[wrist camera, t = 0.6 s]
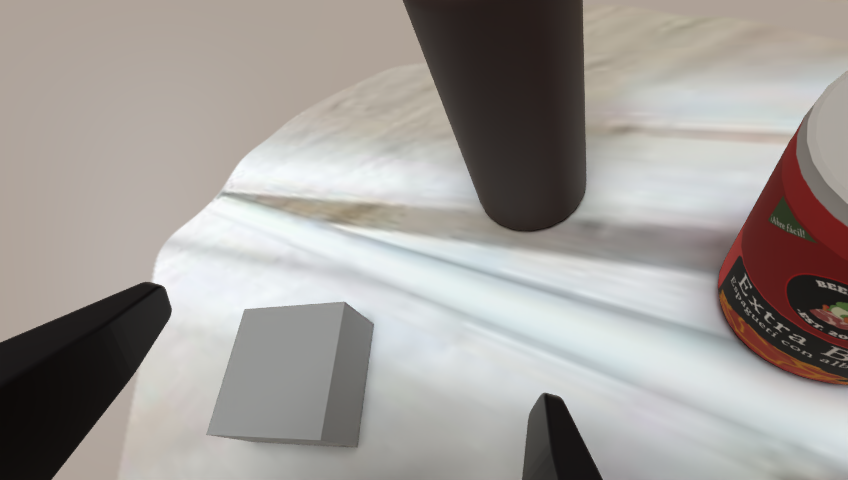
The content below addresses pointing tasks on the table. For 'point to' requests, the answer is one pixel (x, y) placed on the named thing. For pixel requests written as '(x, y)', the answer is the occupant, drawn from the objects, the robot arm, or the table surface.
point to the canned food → (798, 252)
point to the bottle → (512, 100)
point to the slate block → (296, 376)
